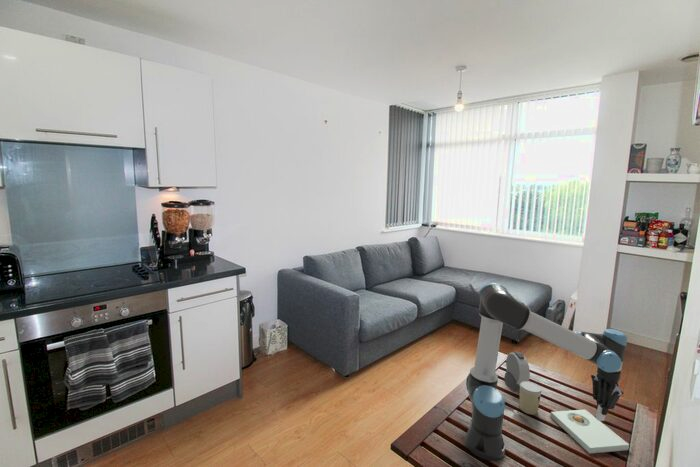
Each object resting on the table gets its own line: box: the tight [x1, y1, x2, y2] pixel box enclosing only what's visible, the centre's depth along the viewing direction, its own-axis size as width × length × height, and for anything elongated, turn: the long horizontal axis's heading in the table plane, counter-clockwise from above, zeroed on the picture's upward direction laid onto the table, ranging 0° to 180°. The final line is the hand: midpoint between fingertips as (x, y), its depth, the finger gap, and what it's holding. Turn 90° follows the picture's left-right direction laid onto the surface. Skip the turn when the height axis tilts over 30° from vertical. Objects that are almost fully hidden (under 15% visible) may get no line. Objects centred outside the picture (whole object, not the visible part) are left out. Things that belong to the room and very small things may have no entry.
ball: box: [573, 416, 582, 423], centre depth 152 cm, size 4×4×4 cm
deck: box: [550, 409, 630, 454], centre depth 147 cm, size 22×18×2 cm
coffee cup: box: [518, 380, 543, 415], centre depth 161 cm, size 9×9×12 cm
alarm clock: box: [503, 350, 531, 392], centre depth 181 cm, size 16×10×18 cm, turn 179°
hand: (600, 419), depth 140 cm, fingers closed
